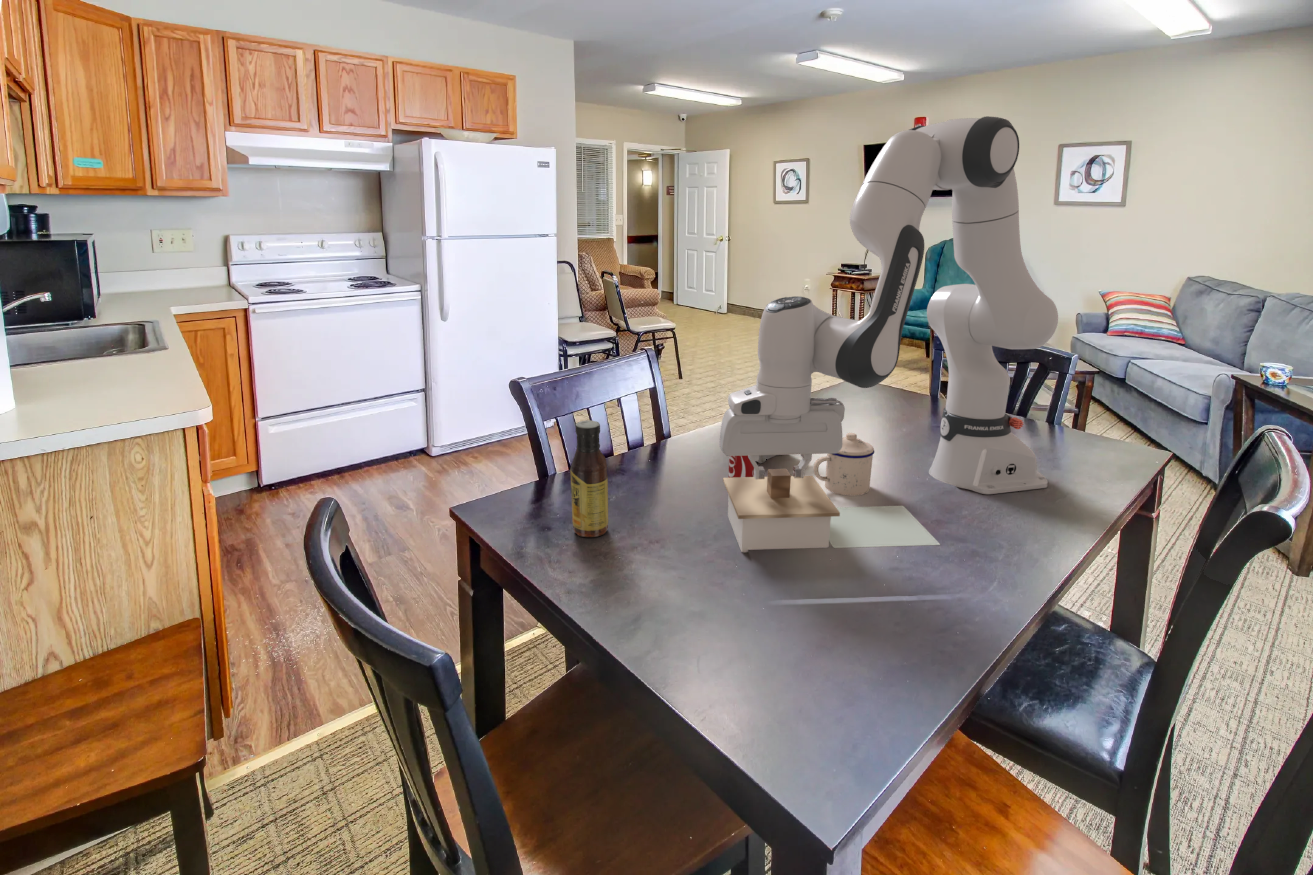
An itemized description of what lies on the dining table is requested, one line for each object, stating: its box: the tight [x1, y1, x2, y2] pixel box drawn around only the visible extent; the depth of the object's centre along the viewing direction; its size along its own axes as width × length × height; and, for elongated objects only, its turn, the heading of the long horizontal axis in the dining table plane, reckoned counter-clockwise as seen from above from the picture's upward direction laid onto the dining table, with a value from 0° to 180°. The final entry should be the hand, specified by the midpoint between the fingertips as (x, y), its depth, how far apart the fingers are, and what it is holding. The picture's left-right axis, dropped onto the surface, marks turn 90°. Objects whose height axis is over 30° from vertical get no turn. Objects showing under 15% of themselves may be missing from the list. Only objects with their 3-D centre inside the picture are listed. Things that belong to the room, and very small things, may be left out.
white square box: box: [727, 495, 831, 553], centre depth 123 cm, size 14×14×6 cm
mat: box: [829, 505, 941, 549], centre depth 125 cm, size 18×16×1 cm
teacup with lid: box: [812, 432, 875, 497], centre depth 140 cm, size 12×9×12 cm
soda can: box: [727, 455, 754, 478], centre depth 144 cm, size 5×5×12 cm
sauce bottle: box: [569, 419, 609, 538], centre depth 121 cm, size 7×6×20 cm
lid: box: [722, 468, 840, 519], centre depth 121 cm, size 16×16×6 cm
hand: (778, 477), depth 121 cm, fingers open, 5 cm apart
